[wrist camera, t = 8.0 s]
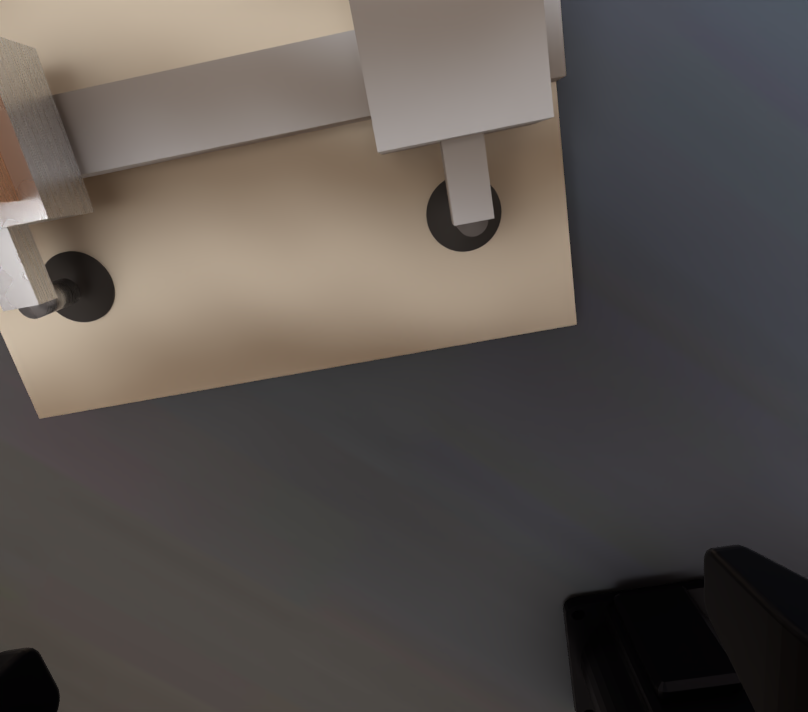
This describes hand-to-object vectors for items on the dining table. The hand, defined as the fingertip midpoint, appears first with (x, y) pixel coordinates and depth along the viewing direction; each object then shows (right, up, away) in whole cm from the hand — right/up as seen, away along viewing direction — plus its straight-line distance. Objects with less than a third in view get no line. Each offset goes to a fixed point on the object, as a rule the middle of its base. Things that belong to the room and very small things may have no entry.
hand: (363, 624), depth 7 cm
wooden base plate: (-4, +9, +10) cm, 14 cm away
